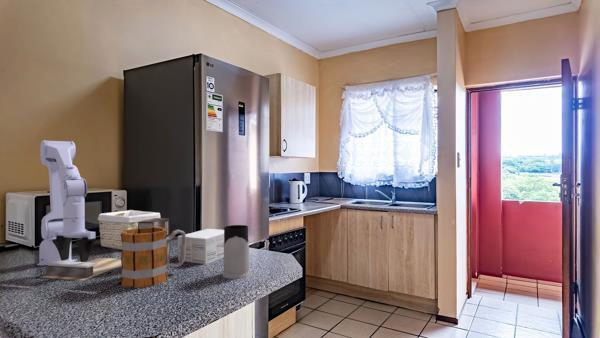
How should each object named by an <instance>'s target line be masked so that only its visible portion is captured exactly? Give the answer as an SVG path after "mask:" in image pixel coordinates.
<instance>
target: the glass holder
mask: <svg viewBox="0 0 600 338" xmlns="http://www.w3.org/2000/svg"><path fill="white" fill-rule="evenodd" d="M223 230H224V257H223V272H222V277H223V278H226V279H229V280H231V279H233V280H235V279H244V278H247V277H249V276H251V274H252V273H251V271H250V245H249V244H250V243H249V242H250V241H249V226H248V225H244V224H233V225H232V224H231V225H225V226H224V227H223Z"/></svg>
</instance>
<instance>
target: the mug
mask: <svg viewBox="0 0 600 338" xmlns="http://www.w3.org/2000/svg"><path fill="white" fill-rule="evenodd" d="M166 234H167V228H161V227H147V228H135V229H130V230H124V231H122V233H121V240H122V250H121V254H120V259H121V264H122V266H121V282H120V286H122V287H126V288H131V289H137V288H139V289H140V288H146V287H154V286H157V285H159V284H161V283H165V282H167V281H168V276H169V275H168V269H167V267H168V268H169V267H171V268H174V267H175V268H178V267H180V266H182V265H183V264H184V262H185V261H184V260H185V253H186V235H185V234H186V232H185V231H184V230H180V229H175V230H173V231H172V232H171V233H169V236H168V237H166ZM177 234H181V235H182V243H181V258H180V261H178V262H177V263H174V262H170V263H166V262H167V244H166V241H171V240H173V238H174V237H175V236H176V235H177ZM181 235H180V236H181Z"/></svg>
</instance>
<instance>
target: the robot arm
mask: <svg viewBox="0 0 600 338" xmlns="http://www.w3.org/2000/svg"><path fill="white" fill-rule="evenodd" d="M39 151H40V152H39V153H40V162H41V165H43V166H45V167H47V170H48V179H49V181H48V183H49V200H50V212H48V213H47V214H45V216H43V217H42V219H41V227H40V229H41V231H40V233H41V234H40V235H41V238H42V241H41V243H39V250H38V251H39V263H37V264H36V265H37V266H49V265H48V264H49V263H54V262H58V261H72V262H77V259H72V240H73V239H77V240H75V243H76V245H77V248H78V251H79V262H89V257H90V253H91V251H92V248H93V246H94V243H95V242H96V241H97V239H96V231H90V230H88V229H86V224H85V223H86V222H85V221H86V220H85V218H86V217H85V215H86V213H85V210H86V209H85V207H86V205H85V197H87V195H88V184H87V180H86V179H85V178H83V177H81V175H80V171H79V169H78V167H77V166H76V165H74V164H73V161H74V158H75V157H76V151H77V150H76V144H75V142H74V141H73V140H70V141H67V140H66V141H65V140H64V141H62V140H46V139H43V140H42V141H41V142H40V145H39Z"/></svg>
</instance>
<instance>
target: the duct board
mask: <svg viewBox="0 0 600 338" xmlns="http://www.w3.org/2000/svg"><path fill="white" fill-rule="evenodd" d="M87 262H88V263H97V265H95V266H91V267H88V268H76V267H61V266H49V265H46V274H45V275H42V276H40V278H44V279H58V280H70V281H85V280H88V279H90V278H93V277H96V276H99V275H101V274H104V273H106V272H110V271H111V270H114V269H116V268H120V267H122V264H121V258H111V257H109V258H108V257H97V258H95V259H92V260H88V261H87Z"/></svg>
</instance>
